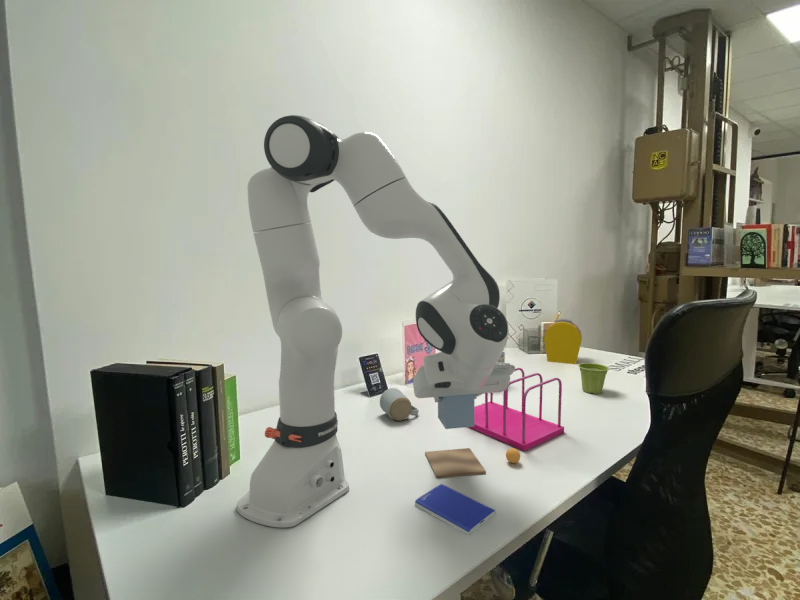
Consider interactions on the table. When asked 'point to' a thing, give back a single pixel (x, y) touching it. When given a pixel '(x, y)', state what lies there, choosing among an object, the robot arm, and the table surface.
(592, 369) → the plant pot
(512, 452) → the ball
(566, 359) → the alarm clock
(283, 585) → the table surface
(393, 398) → the ceramic mug
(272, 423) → the table surface
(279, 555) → the table surface
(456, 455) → the coaster
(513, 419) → the file sorter
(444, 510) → the hard drive
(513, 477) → the table surface
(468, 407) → the grey block with knob
